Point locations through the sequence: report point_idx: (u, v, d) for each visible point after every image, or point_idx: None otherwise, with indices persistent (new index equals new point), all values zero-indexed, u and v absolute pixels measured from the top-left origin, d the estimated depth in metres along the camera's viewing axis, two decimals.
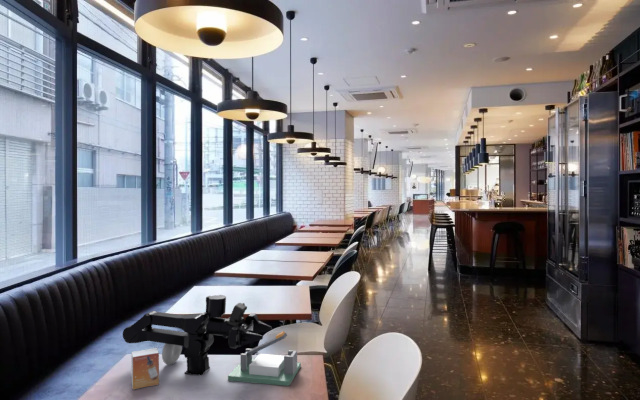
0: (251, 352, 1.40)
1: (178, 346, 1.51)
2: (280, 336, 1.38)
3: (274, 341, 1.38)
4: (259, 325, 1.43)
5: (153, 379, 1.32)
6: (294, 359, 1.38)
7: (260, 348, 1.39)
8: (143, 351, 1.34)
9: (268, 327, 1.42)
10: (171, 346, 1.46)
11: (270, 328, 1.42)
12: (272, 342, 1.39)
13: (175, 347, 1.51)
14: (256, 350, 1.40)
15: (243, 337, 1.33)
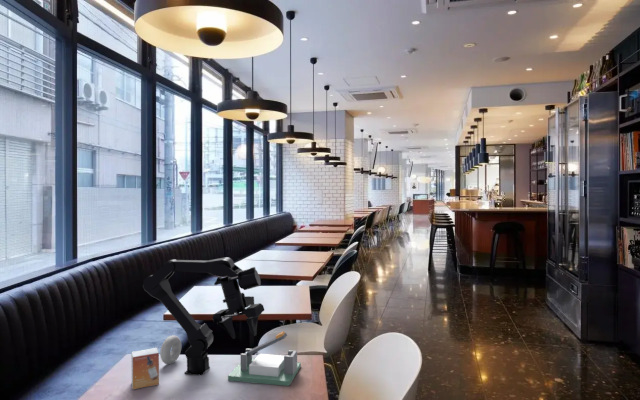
0: (251, 352, 1.40)
1: (177, 345, 1.51)
2: (280, 336, 1.38)
3: (274, 341, 1.38)
4: (230, 325, 1.44)
5: (153, 379, 1.32)
6: (294, 359, 1.38)
7: (260, 348, 1.39)
8: (143, 351, 1.34)
9: (234, 334, 1.44)
10: (169, 345, 1.46)
11: (234, 337, 1.44)
12: (272, 342, 1.39)
13: (174, 346, 1.51)
14: (256, 350, 1.40)
15: None
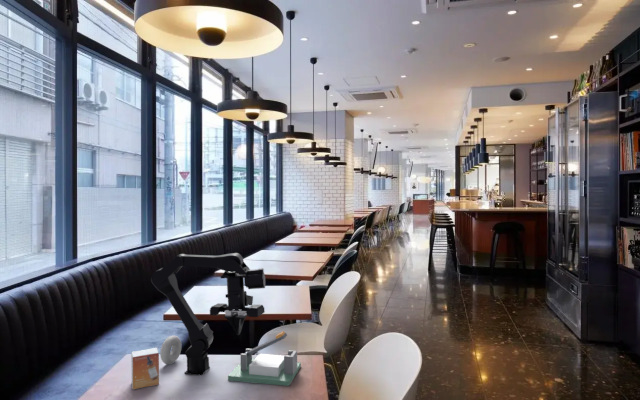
0: (251, 352, 1.40)
1: (177, 345, 1.51)
2: (280, 336, 1.38)
3: (274, 341, 1.38)
4: None
5: (153, 379, 1.32)
6: (294, 359, 1.38)
7: (260, 348, 1.39)
8: (143, 351, 1.34)
9: None
10: (169, 345, 1.46)
11: None
12: (272, 342, 1.39)
13: (174, 346, 1.51)
14: (256, 350, 1.40)
15: None
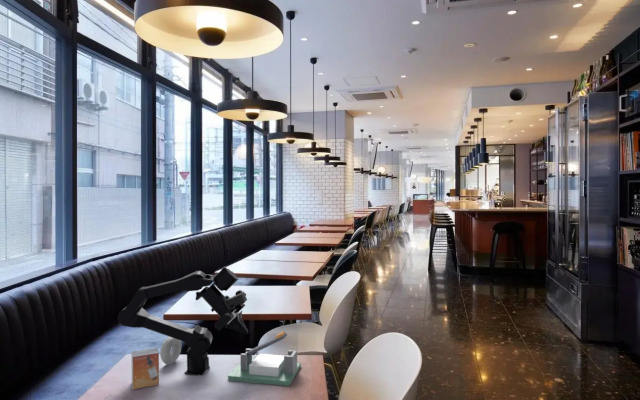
0: (251, 352, 1.40)
1: (177, 345, 1.51)
2: (280, 336, 1.38)
3: (274, 341, 1.38)
4: None
5: (153, 379, 1.32)
6: (294, 359, 1.38)
7: (260, 348, 1.39)
8: (143, 351, 1.34)
9: None
10: (169, 345, 1.46)
11: None
12: (272, 342, 1.39)
13: (174, 347, 1.51)
14: (256, 350, 1.40)
15: (233, 322, 1.41)
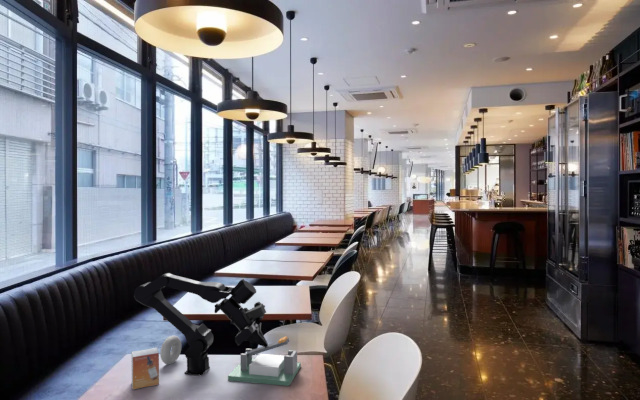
0: (251, 353, 1.40)
1: (177, 345, 1.51)
2: (283, 341, 1.38)
3: (276, 345, 1.38)
4: None
5: (153, 379, 1.32)
6: (294, 359, 1.38)
7: (261, 350, 1.39)
8: (143, 351, 1.34)
9: None
10: (169, 345, 1.46)
11: None
12: (274, 346, 1.38)
13: (174, 346, 1.51)
14: (257, 352, 1.40)
15: (252, 335, 1.40)
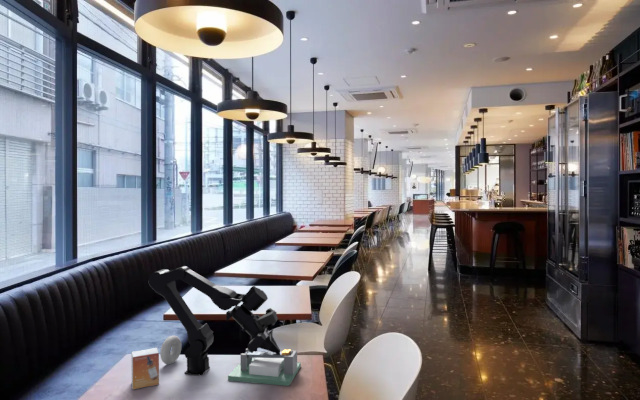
0: (252, 355, 1.40)
1: (177, 345, 1.51)
2: (286, 354, 1.38)
3: (278, 356, 1.38)
4: None
5: (153, 379, 1.32)
6: (294, 359, 1.38)
7: (262, 356, 1.39)
8: (143, 351, 1.34)
9: None
10: (169, 345, 1.46)
11: None
12: (276, 356, 1.38)
13: (174, 346, 1.51)
14: (258, 356, 1.40)
15: (265, 341, 1.39)
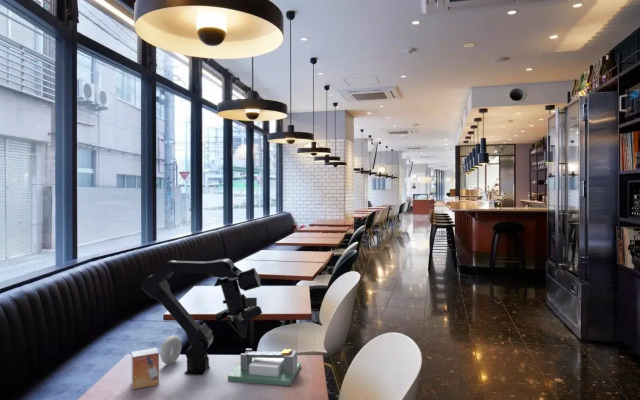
0: (252, 355, 1.40)
1: (177, 345, 1.51)
2: (286, 354, 1.38)
3: (278, 356, 1.38)
4: None
5: (153, 379, 1.32)
6: (294, 359, 1.38)
7: (262, 356, 1.39)
8: (143, 351, 1.34)
9: None
10: (169, 345, 1.46)
11: None
12: (276, 356, 1.38)
13: (174, 346, 1.51)
14: (258, 356, 1.40)
15: None
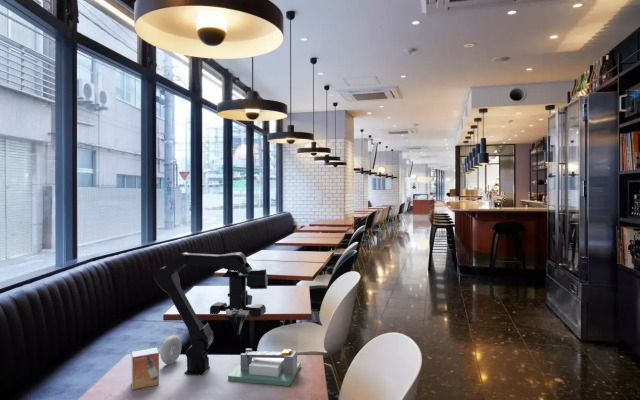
0: (252, 355, 1.40)
1: (177, 345, 1.51)
2: (286, 354, 1.38)
3: (278, 356, 1.38)
4: (237, 320, 1.43)
5: (153, 379, 1.32)
6: (294, 359, 1.38)
7: (262, 356, 1.39)
8: (143, 351, 1.34)
9: None
10: (169, 345, 1.46)
11: None
12: (276, 356, 1.38)
13: (174, 346, 1.51)
14: (258, 356, 1.40)
15: None
